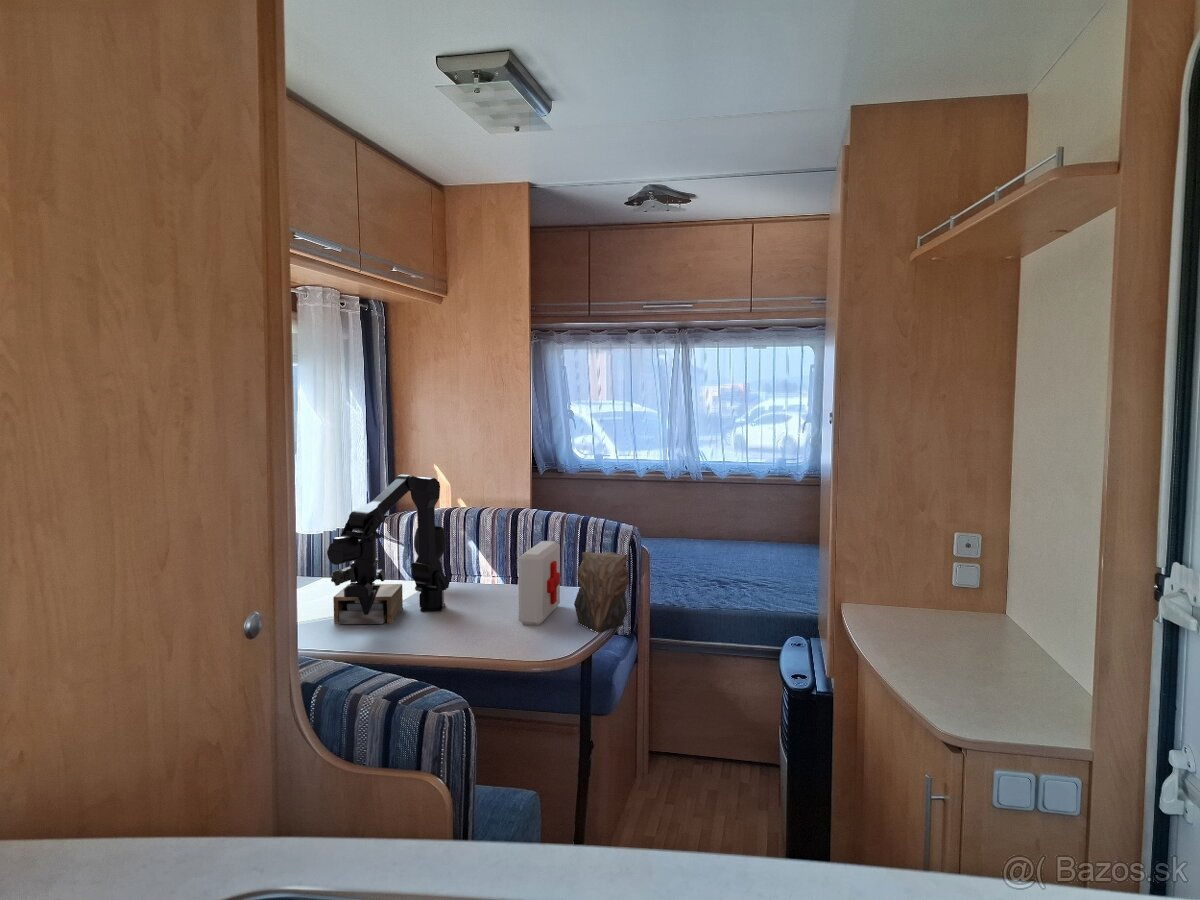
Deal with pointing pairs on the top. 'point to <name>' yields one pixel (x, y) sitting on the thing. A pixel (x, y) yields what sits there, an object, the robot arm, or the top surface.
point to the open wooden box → (384, 593)
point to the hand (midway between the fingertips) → (366, 614)
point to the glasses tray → (377, 605)
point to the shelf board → (362, 617)
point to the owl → (602, 590)
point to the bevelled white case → (539, 582)
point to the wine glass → (439, 540)
